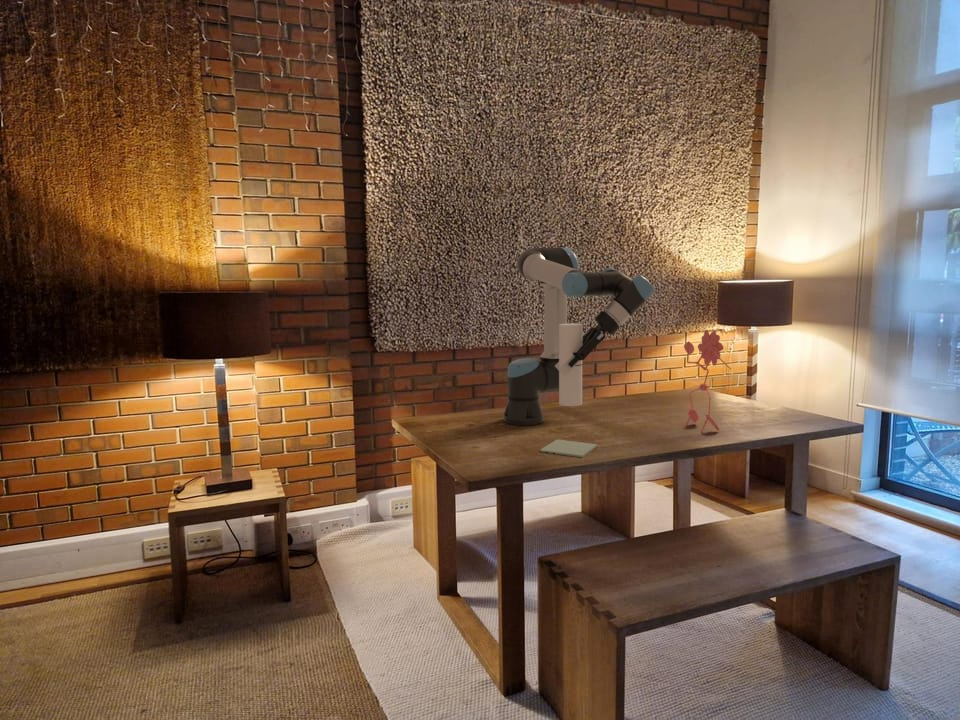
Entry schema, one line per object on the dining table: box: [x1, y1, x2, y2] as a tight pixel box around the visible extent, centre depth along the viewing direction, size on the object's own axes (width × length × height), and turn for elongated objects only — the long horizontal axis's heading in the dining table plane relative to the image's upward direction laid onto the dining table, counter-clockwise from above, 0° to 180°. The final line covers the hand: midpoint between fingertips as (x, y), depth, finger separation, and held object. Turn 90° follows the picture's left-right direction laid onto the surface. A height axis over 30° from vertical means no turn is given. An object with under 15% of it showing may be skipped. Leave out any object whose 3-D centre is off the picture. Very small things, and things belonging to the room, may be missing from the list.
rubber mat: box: [539, 439, 598, 458], centre depth 203 cm, size 14×14×1 cm
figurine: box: [683, 329, 732, 433], centre depth 226 cm, size 15×26×35 cm, turn 17°
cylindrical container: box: [558, 323, 584, 407], centre depth 199 cm, size 7×7×25 cm
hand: (559, 371), depth 199 cm, fingers closed on cylindrical container, 7 cm apart
